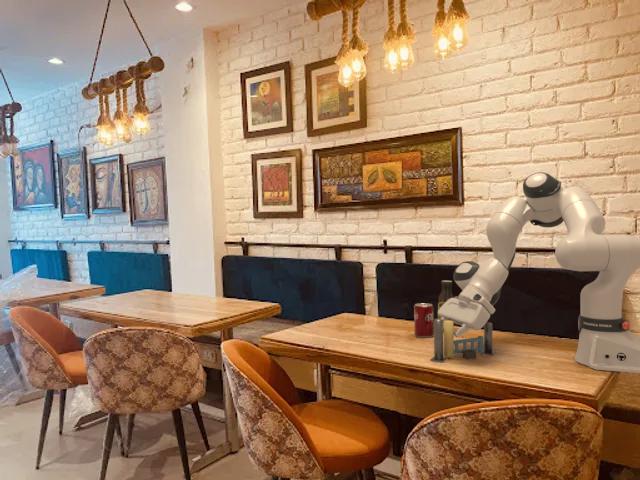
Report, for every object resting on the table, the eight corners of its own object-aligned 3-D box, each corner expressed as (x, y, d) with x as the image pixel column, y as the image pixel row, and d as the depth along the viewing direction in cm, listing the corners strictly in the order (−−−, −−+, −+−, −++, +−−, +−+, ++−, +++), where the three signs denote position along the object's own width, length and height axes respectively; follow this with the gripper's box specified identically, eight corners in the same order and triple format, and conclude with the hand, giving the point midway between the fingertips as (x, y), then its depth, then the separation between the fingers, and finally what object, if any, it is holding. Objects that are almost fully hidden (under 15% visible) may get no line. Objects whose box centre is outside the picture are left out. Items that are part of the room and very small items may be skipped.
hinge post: (496, 352, 171) (496, 322, 170) (492, 355, 168) (492, 325, 167) (484, 351, 173) (483, 321, 173) (480, 353, 170) (480, 323, 169)
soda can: (412, 337, 195) (411, 305, 194) (417, 333, 201) (417, 302, 201) (430, 338, 191) (430, 306, 191) (436, 334, 198) (435, 303, 197)
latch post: (447, 359, 164) (446, 319, 164) (442, 362, 161) (441, 321, 160) (435, 357, 167) (434, 317, 166) (430, 360, 163) (429, 320, 163)
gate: (479, 350, 171) (479, 317, 170) (485, 353, 168) (484, 318, 168) (442, 355, 167) (441, 320, 166) (447, 357, 164) (447, 322, 163)
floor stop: (471, 356, 167) (471, 349, 167) (476, 358, 165) (476, 351, 165) (462, 357, 166) (462, 350, 166) (466, 359, 164) (466, 352, 164)
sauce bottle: (436, 332, 202) (435, 281, 201) (438, 328, 208) (438, 279, 207) (453, 333, 200) (453, 282, 199) (455, 329, 206) (454, 280, 204)
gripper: (448, 289, 176) (424, 320, 174) (487, 298, 157) (460, 333, 154) (459, 301, 178) (435, 332, 175) (499, 311, 159) (472, 346, 156)
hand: (447, 333), depth 165 cm, fingers open, 8 cm apart
